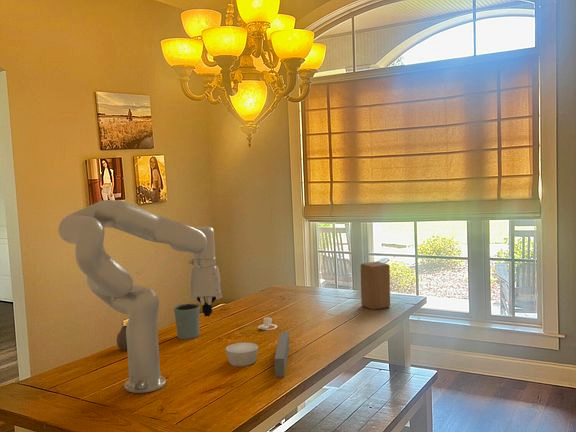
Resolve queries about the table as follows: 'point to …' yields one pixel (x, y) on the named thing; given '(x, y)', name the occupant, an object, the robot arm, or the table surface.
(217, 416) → the table surface
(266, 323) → the white ring with peg
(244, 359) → the ramekin
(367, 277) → the wooden block
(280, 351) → the board
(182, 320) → the blue-grey plant pot
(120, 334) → the vase
